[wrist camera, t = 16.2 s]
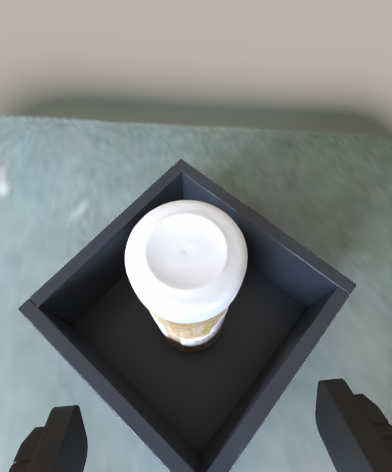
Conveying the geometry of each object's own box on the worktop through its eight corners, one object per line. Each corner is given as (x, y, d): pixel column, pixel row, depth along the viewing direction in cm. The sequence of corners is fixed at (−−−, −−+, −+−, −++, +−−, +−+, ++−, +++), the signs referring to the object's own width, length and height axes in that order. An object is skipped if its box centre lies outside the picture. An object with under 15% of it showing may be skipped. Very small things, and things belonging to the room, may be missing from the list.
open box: (184, 207, 29) (180, 158, 23) (317, 309, 25) (357, 284, 19) (62, 328, 25) (17, 308, 18) (201, 473, 21) (203, 509, 15)
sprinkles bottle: (215, 359, 23) (237, 328, 11) (152, 344, 23) (104, 297, 11) (227, 296, 25) (258, 207, 13) (168, 283, 25) (142, 185, 13)
